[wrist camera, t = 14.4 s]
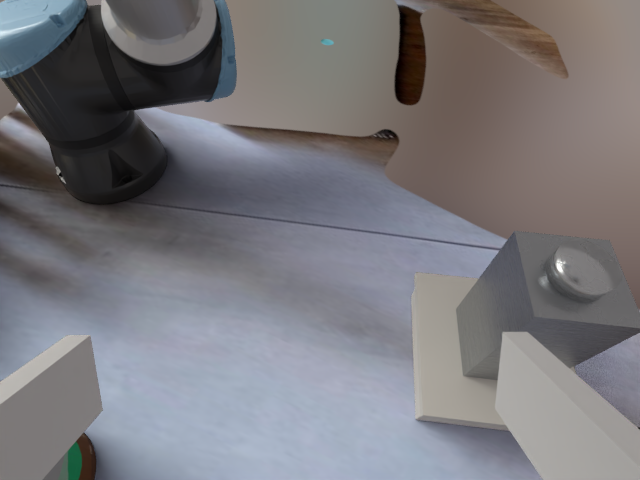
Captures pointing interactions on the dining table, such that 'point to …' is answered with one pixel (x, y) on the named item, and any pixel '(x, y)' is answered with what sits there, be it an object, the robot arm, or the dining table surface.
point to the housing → (547, 301)
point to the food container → (76, 462)
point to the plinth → (446, 358)
